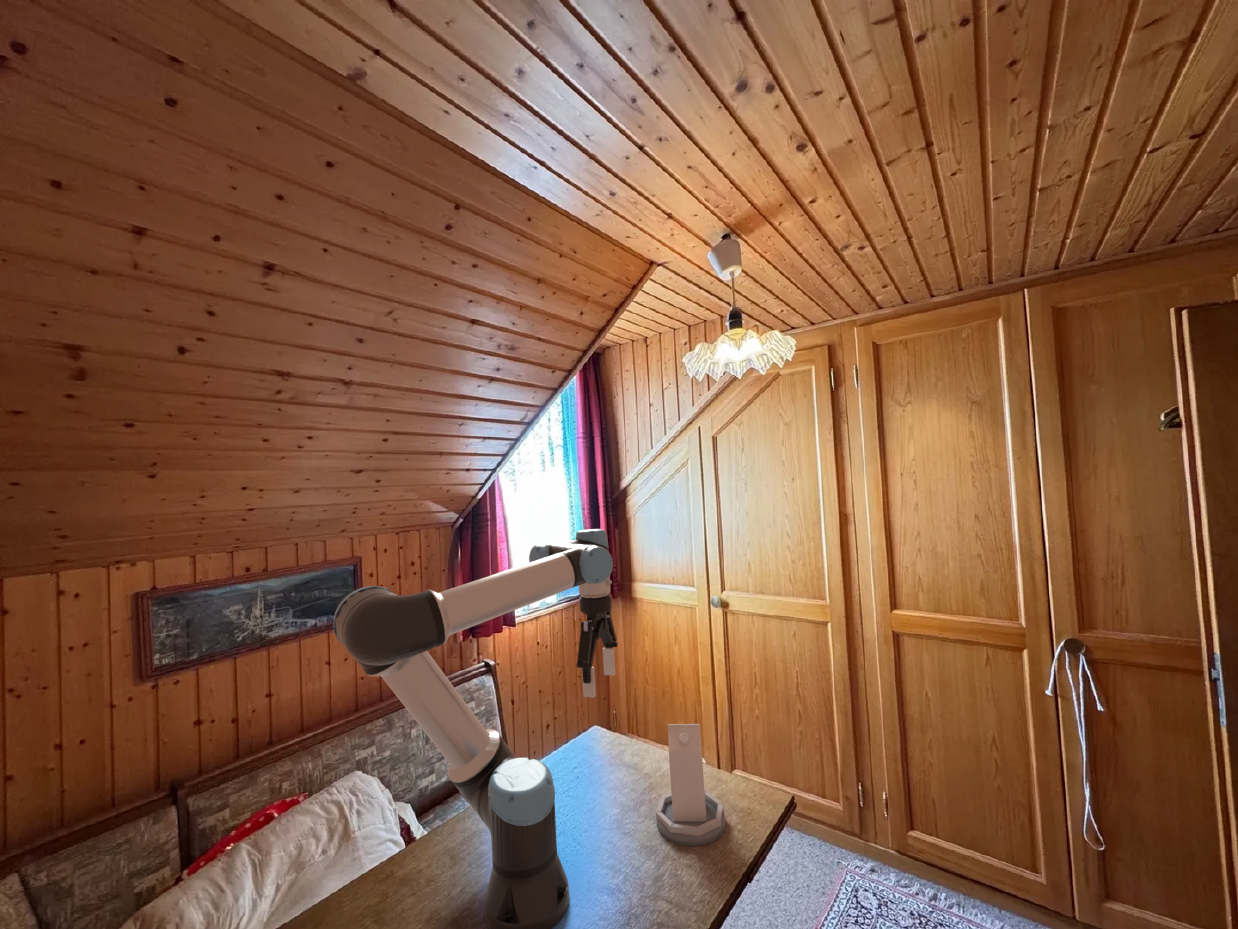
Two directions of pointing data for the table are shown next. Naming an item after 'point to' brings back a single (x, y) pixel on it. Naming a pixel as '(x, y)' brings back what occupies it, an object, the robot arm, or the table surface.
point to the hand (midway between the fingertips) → (600, 685)
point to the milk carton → (686, 772)
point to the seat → (691, 823)
